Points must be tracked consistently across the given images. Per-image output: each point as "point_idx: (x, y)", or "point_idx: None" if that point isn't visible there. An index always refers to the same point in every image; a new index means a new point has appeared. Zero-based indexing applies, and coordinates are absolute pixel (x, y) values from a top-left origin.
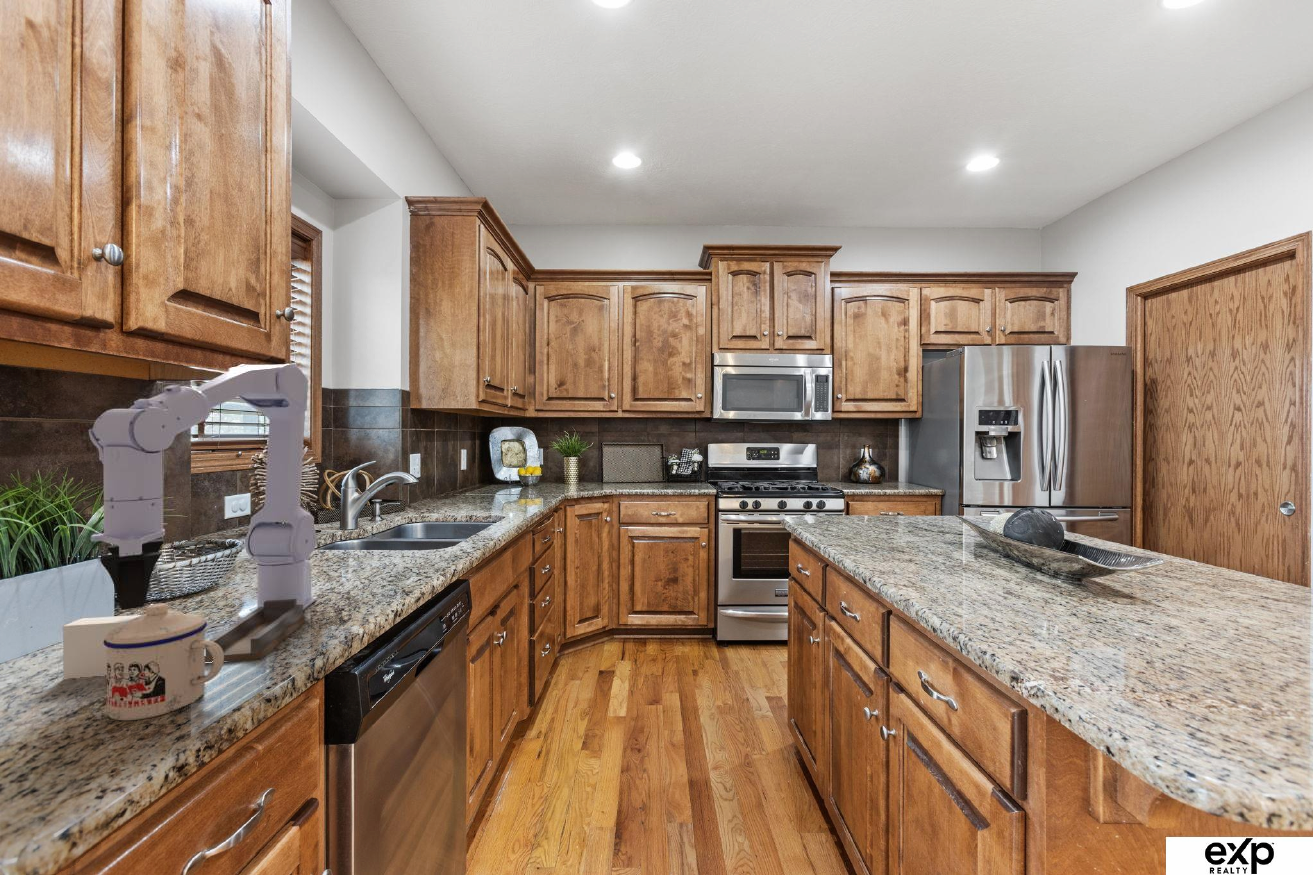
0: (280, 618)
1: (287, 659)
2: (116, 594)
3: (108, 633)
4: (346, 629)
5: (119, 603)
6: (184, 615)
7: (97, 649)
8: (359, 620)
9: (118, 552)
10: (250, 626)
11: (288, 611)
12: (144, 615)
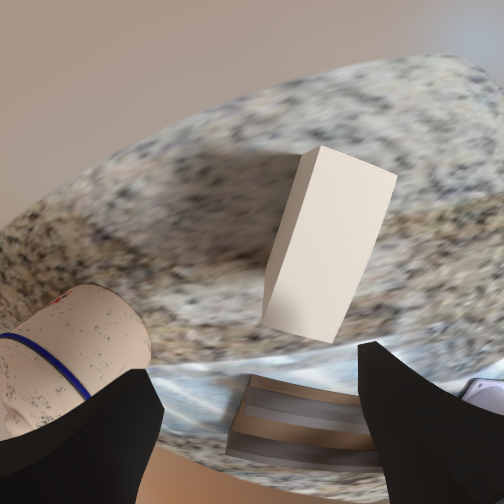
0: (331, 467)
1: (212, 448)
2: (94, 395)
3: (3, 346)
4: (306, 486)
5: (117, 378)
6: None
7: (284, 228)
8: (337, 491)
9: (445, 502)
10: None
11: (368, 467)
12: (17, 407)
